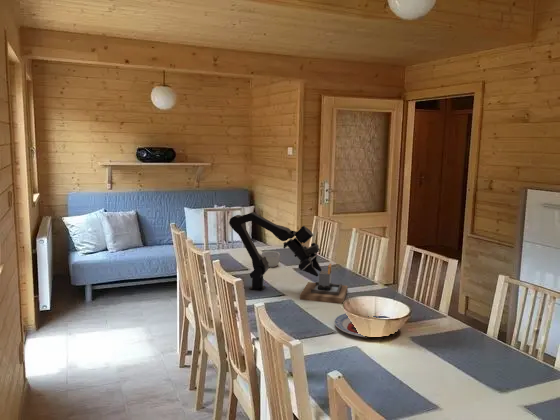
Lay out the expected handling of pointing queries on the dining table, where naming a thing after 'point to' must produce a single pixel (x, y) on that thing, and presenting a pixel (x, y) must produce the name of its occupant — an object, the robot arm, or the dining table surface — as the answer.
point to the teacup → (271, 257)
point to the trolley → (325, 279)
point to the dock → (324, 293)
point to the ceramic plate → (349, 324)
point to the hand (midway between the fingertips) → (319, 273)
